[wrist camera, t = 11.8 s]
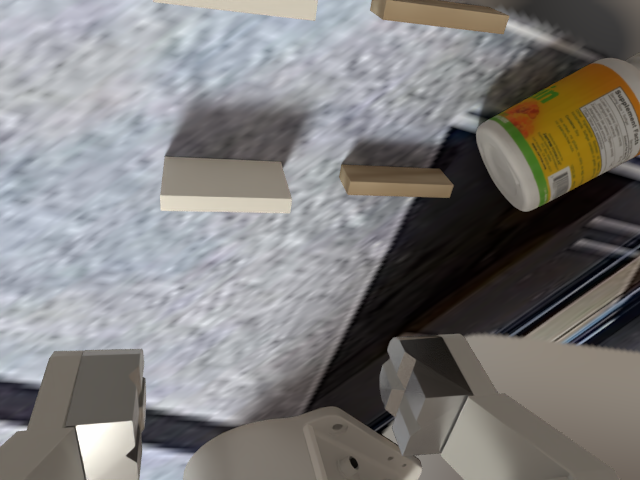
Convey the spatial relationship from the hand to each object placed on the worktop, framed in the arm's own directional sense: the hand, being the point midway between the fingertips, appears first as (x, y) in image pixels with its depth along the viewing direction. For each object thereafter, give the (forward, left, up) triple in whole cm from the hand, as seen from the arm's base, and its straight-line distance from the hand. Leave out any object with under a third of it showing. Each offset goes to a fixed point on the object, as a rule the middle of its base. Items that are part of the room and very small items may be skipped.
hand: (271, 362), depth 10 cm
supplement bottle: (-14, -5, -15) cm, 21 cm away
